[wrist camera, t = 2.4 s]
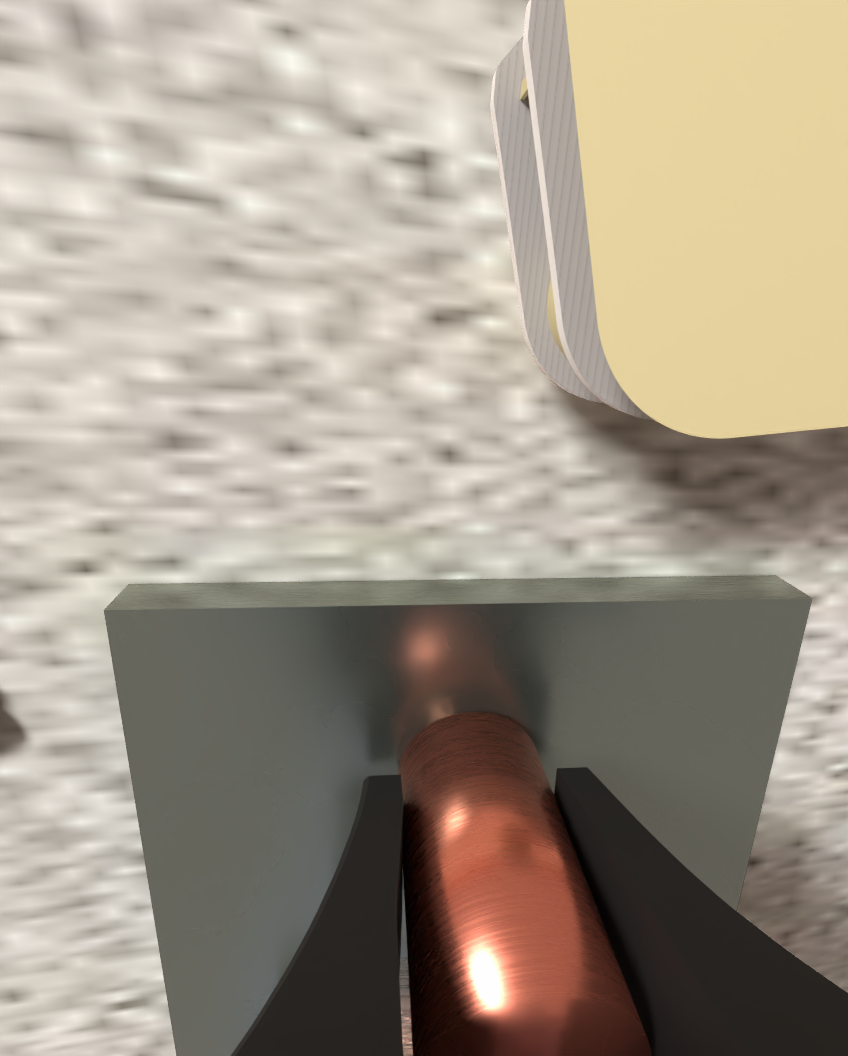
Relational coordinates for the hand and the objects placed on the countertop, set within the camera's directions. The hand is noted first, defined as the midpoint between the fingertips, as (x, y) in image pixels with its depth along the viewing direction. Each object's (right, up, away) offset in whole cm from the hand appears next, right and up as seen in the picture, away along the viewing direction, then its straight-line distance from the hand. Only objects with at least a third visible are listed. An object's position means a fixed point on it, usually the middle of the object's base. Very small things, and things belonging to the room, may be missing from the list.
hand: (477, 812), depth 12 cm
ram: (0, -1, +2) cm, 2 cm away
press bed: (0, -6, +5) cm, 7 cm away
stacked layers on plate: (+3, +11, 0) cm, 12 cm away
